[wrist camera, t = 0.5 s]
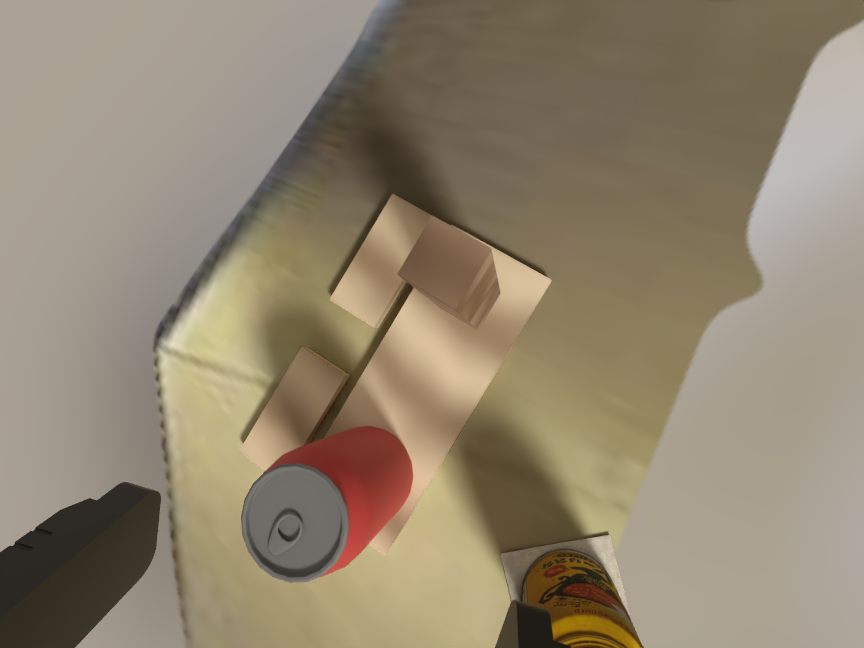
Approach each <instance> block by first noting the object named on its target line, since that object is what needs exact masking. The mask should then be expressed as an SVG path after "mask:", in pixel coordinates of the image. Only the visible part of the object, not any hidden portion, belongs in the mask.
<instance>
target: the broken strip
mask: <svg viewBox="0 0 864 648" xmlns="http://www.w3.org/2000/svg"><path fill="white" fill-rule="evenodd" d="M431 217H432V215H430V214H429V213H427V212H425V211H423V210H421V209H419V208H418V207H416V206H414V205H412V204H410V203H409V202H407V201H405V200H403V199H401V198H400V197H398V196H396V195H394V194H392V195H391V197H390V199H389V200H388V202H387V204H386V205H385V207H384V209H383V210H382V212H381V214H380V215H379V217H378V219H377V220H376V222H375V224H374V226H373V227H372V229H371V231H370V232H369V234H368V236H367V237H366V239H365V241H364V242H363V244H362V246H361V247H360V249H359V251H358V252H357V254H356V256H355V257H354V259H353V261H352V262H351V264H350V266H349V267H348V269H347V271H346V272H345V274H344V276H343V278H342V279H341V281H340V283H339V284H338V286H337V288H336V289H335V291H334V293H333V294H332V296H331V298H330V299H329V300H331V301H332V302H334V303H335V304H337V305H339V306H340V307H342V308H343V309H345V310H347V311H348V312H350V313H351V314H353V315H355V316H356V317H358V318H359V319H361V320H363V321H364V322H366V323H367V324H369V325H371V326H372V327H374V328H377V329H378V328H379V326H380V324H381V323H382V321H383V319H384V318H385V316H386V314H387V313H388V311H389V309H390V308H391V306H392V304H393V303H394V301H395V299H396V298H397V296H398V294H399V293H400V291H401V289H402V288H403V286H404V284H405V283H406V281H405V280H404V279H402V278H401V277H400V276H398V275H397V273H398V272H399V270H400V268H401V267H402V265H403V263H404V262H405V260H406V258H407V257H408V255H409V253H410V252H411V250H412V248H413V247H414V245H415V243H416V242H417V240H418V238H419V237H420V235H421V233H422V232H423V230H424V228H425V227H426V225H427V223H428V222H429V220H430V218H431ZM349 376H350V375H349V374H347V373H346V372H344V371H343V370H341V369H340V368H338V367H337V366H335V365H334V364H332V363H330V362H329V361H327V360H326V359H324V358H323V357H321V356H320V355H318V354H317V353H315V352H314V351H312V350H311V349H309V348H307V347H301V348H300V350H299V351H298V353H297V355H296V356H295V358H294V360H293V361H292V363H291V365H290V366H289V368H288V370H287V371H286V373H285V375H284V376H283V378H282V380H281V382H280V383H279V385H278V387H277V388H276V390H275V392H274V393H273V395H272V397H271V398H270V400H269V402H268V403H267V405H266V407H265V408H264V410H263V412H262V413H261V415H260V417H259V418H258V420H257V422H256V423H255V425H254V427H253V428H252V430H251V432H250V433H249V435H248V437H247V439H246V440H245V442H244V444H243V445H242V447H241V449H240V450H239V452H240V453H241V454H242V455H244V456H245V457H247V458H248V459H249V460H251V461H252V462H253V463H255V464H256V465H258V466H259V467H260V468H262V469H263V470H264V471H266V470H267V469H268V468H269V467H270V466H271V465H272V464H273V463H274V462H275V461H276V460H277V459H278V458H279V457H281V456H282V455H283V454H285V453H287V452H290V451H292V450H294V449H296V448H298V447H301V446H304V445H306V444H309V443H310V441H311V440H312V438H313V436H314V435H315V433H316V431H317V430H318V428H319V426H320V425H321V423H322V421H323V420H324V418H325V416H326V415H327V413H328V411H329V410H330V408H331V406H332V405H333V403H334V401H335V400H336V398H337V396H338V395H339V393H340V391H341V390H342V388H343V386H344V385H345V383H346V381H347V380H348V378H349Z"/></svg>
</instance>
